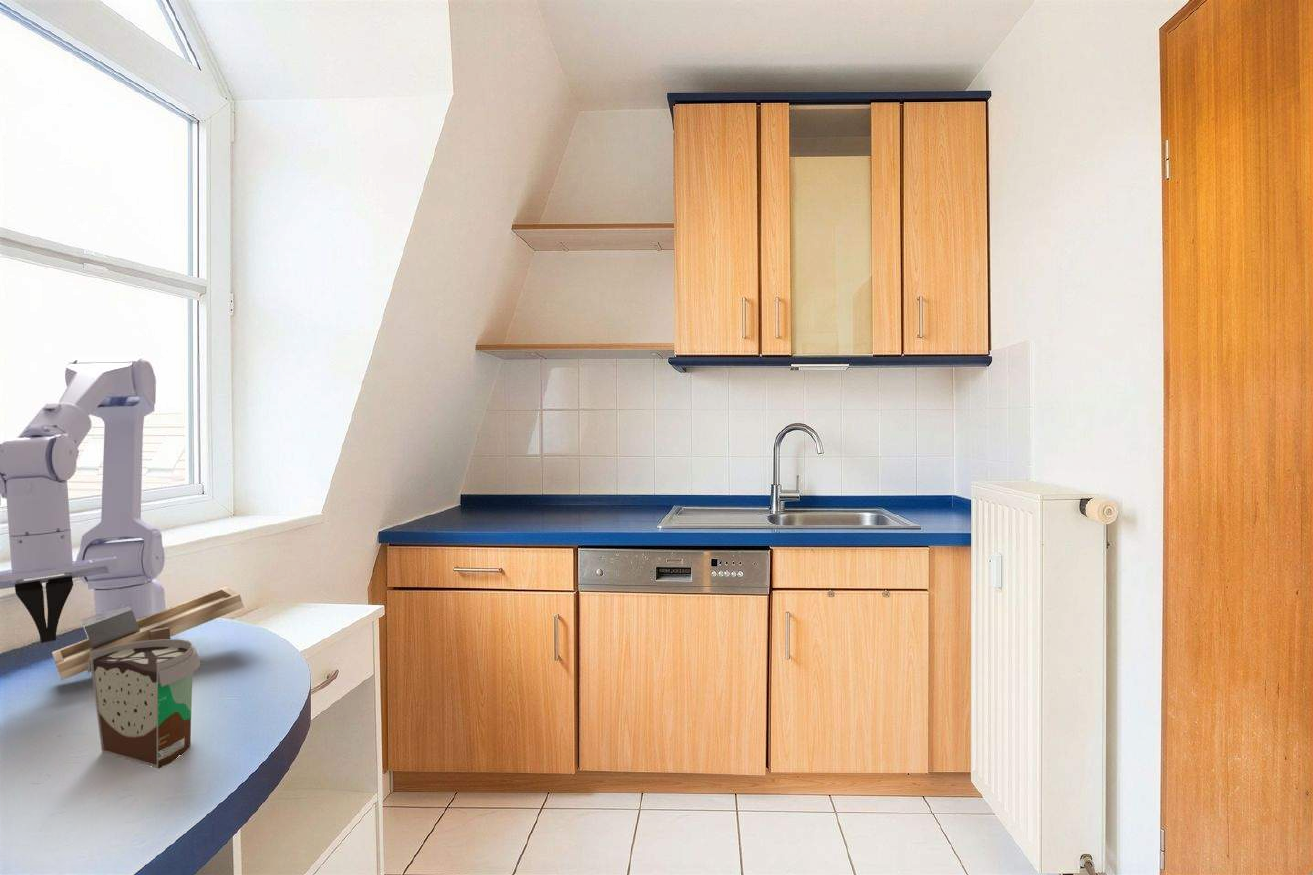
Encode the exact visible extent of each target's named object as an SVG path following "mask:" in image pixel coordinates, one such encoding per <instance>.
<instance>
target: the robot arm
mask: <svg viewBox="0 0 1313 875" xmlns="http://www.w3.org/2000/svg"><path fill="white" fill-rule="evenodd" d="M64 378H65V385H66V388H65V389H64V390H65V391H64V392H63V394H62V396H61V397H60V399H59V401H58V402H52V403H51V402H50V403H45V405H44V406H43V407H42V408H41V409H40V410H39V411H38V413H37V414H36V415H35V416H34V417H33V419H31V421H30V422H29V423H28V425H27V426H26V427H25V428H24V429H23V431H22V432H21V433H20V434H19V435H18V436H17V437H12V438H11V437H10V438H7V439H5V440H3V442H0V496H1V498H2V499H6V511H7V512H6V513H7V523H8V524H7V526H8V535H9V536H8V538H9V539H8V540H9V552H10V563H11V564H10V565H11V566H10V567H11V569H7V570H2V571H0V590H4V589H10V588H12V589H13V588H14V590H15V595H16V596H17V598H18V599H19V600H20V602H21V603H22V605H23V606H24V607H25V609H26V610H27V612H28V613H29V614H30V616H31V618H32V619H33V620H32V621H33V622H34V624H35V626H36V629H37V632H38V633H39V640H40V643H41V644H42V643H43V644H44V643H48V642H53V641H56V640H57V630H58V625H59V621H60V618H61V616H62V611H63V609H64V606H65V604H66V603H67V599H68V598H69V595H70V594H71V592H72V589H73V586H74V581H73V579H79V580H80V581H81V582H82V584H84V585H87V589H88V590H93V600H94V615H96V614H99V613H102V612H105V611H108V610H110V609H113V608H116V607H119V606H121V605H124V604H128V606H129V607H130V608H131V609H132V611H133V614H134V616H135V619H136V620H139V618H140V617H146V616H150V615H152V614H155V613H158V612H160V611H163V610H166V609H167V608H166V595H165V589H164V587H163V585H162V584H161V583H160V582H159V581H158V580H157V578H158V577H159V576H160V574H161V573H162V571H163V570H164V566H165V562H166V561H165V560H166V557H165V554H166V553H165V549H164V545H163V535H162V532H161V531H160V530H159V529H158V528H157V527H155V526H154V525H152V524H150V523H148V522H147V521H145V520H143V519H142V516H141V515H142V483H143V482H142V480H143V479H142V478H143V476H142V474H143V448H144V447H143V446H144V445H143V444H144V442H143V441H144V422H145V417H146V416H148V415H151V413H153V412H155V405H156V401H157V400H156V398H157V397H156V396H157V395H156V394H157V393H156V392H157V390H156V389H157V379H156V374H155V372H154V367H153V366H152V364H151V362H150V361H148V360H147V359H146V358H145V357H143V356H138V357H135V358H134V357H133V358H132V357H131V358H127V357H126V358H81V357H79V358H77V357H76V358H72V359H71V360H70V361H69V363H68V364H67V365H66V367H65V372H64ZM90 415H91V416H94V417H97V418H99V419H101V420H102V421H103V422H104V431H103V432H104V433H103V436H104V437H103V456H102V457H103V462H102V463H103V464H102V485H101V486H102V487H101V488H102V489H101V490H102V491H101V514H100V517H101V518H100V522H98V523H97V524H96V525H95V526H93V527H92V528H90V529H89V530H88V531H86V532H85V533H84V534H83V535H81V539H80V545H79V550H78V553H77V555H76V560H75V561H74V559H73V547H72V546H73V545H72V532H71V530H72V529H71V518H70V516H71V515H70V503H69V501H70V500H69V488H68V486H69V485H68V480H71V479H72V477H73V476H74V475H75V473H76V471H77V470H76V469H77V460H78V457H79V456H80V451H79V449H78V448H79V447H80V446H81V443H82V442H83V441H84V440H85V438H86V436H87V435H88V434H89V432H90V430H91V429H92V420H91V417H90ZM132 539H133V540H132ZM135 539H136V540H135ZM121 540H126V541H121ZM110 541H111V542H110ZM112 541H114V542H112ZM44 583H45V595H44V587H43V584H44ZM45 596H46V605H47V606H46V607H47V608H46V609H47V620H46V614H45V599H44V598H45ZM46 622H47V623H46Z"/></svg>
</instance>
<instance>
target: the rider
mask: <svg viewBox="0 0 1313 875" xmlns="http://www.w3.org/2000/svg"><path fill="white" fill-rule="evenodd" d="M80 622H81V625H82V627H83V630H84V632H85V634H86V637H87V639H88V640H89V643H90V645H91V648H92V650H93V649H96V648H99V647H101V646H104V645H106V644H109V643H111V642H114V641H117V640H119V639H122V638H124V637H127V636H130V635H132V634H135V633H137V632H140V630H139V627H138V624H137V622H136V619H135V616H134V614H133V611H132V609H131V608H130V607H129V606H128V604H124V605H121V606H119V607H116V608H113V609H110V610H108V611H105V612H102V613H99V614H96V615H95V614H94V615H91V616H89V617H86V618H83V619H81V620H80Z"/></svg>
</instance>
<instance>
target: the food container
mask: <svg viewBox="0 0 1313 875" xmlns="http://www.w3.org/2000/svg"><path fill="white" fill-rule="evenodd" d="M200 666H201V661H200V658H199V654H198V652H197V649H196V648H195V647H194V646H193V643H192V642H191V641H189V640H185V639H179V638H177V639H175V638H170V639H161V640H149V641H141V642H134V643H128V644H123V645H117V646H113V647H108V648H104V649H100V650H96V651H92V652H90V658H89V664H88V670H87V672H88V673H91V675H92V683H93V690H94V691H93V692H94V699H95V708H96V718H97V723H98V731H99V740H100V747H101V748H100V749H101V753H102V754H106V755H109V756H112V757H116V758H120V759H122V758H123V760H126V761H129V760H130V762H133V763H136V762H137V764H140V763H141V764H140V765H143V764H144V766H147V765H148V767H150V766H152V767H151V768H155V769H157V768H158V769H160V768H163V767H164V766H167V765H169V764H171V763H172V761H173V762H174V761H175V759H176V758H177V757H178V756H179V755H182V754H183V753H184V752H185V751H186V750H187V749H188V748H189V747H190V748H191V733H192V731H191V729H192V700H193V699H192V697H193V696H192V695H193V673H194V672H195V671H197V670H198V669H199V667H200ZM190 748H189V749H190ZM189 749H188V750H189ZM188 750H187V751H188ZM187 751H186V752H187ZM186 752H185V753H186ZM185 753H184V754H185ZM184 754H183V755H184ZM183 755H182V756H183ZM177 759H178V758H177ZM177 759H176V760H177ZM162 766H163V767H162ZM158 769H157V770H158Z"/></svg>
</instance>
